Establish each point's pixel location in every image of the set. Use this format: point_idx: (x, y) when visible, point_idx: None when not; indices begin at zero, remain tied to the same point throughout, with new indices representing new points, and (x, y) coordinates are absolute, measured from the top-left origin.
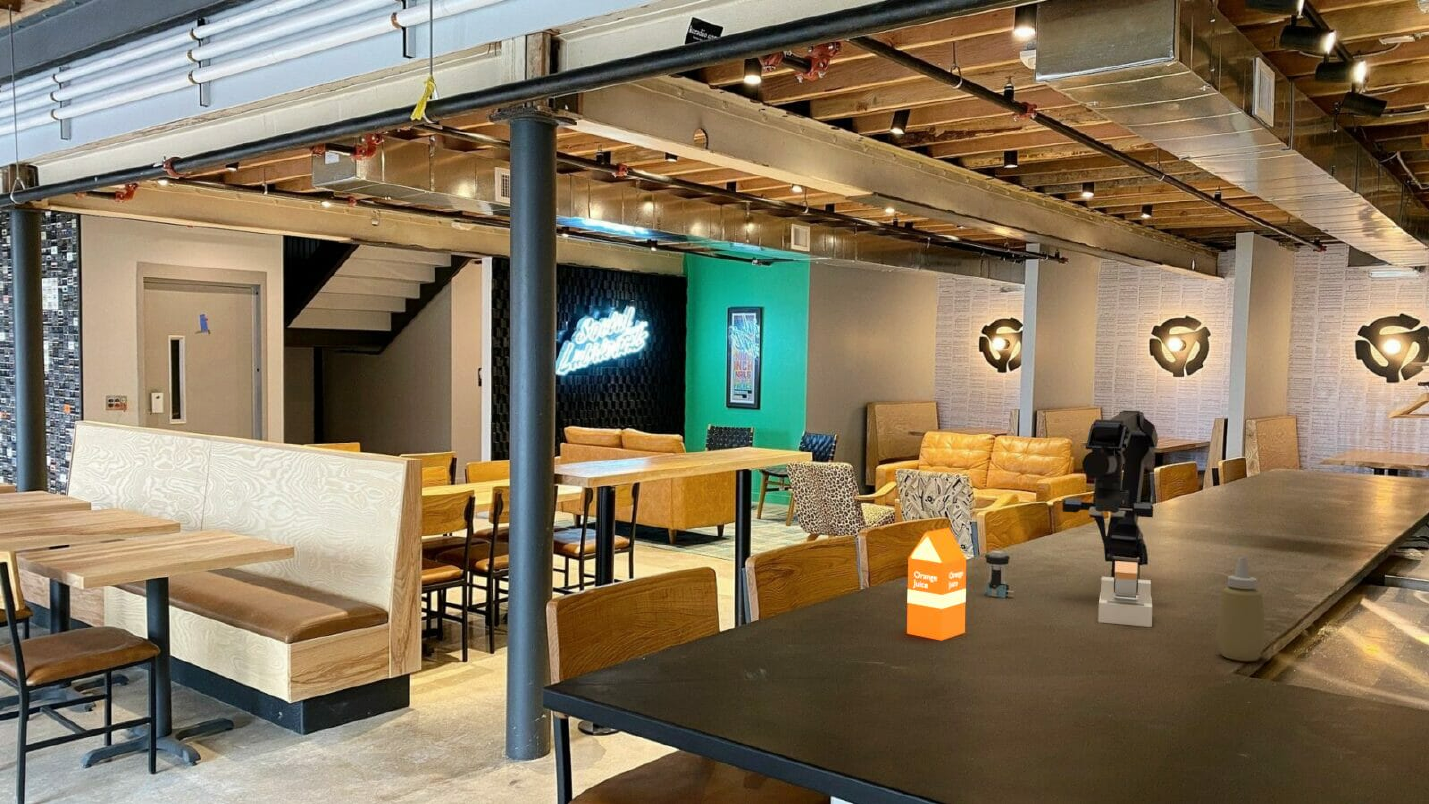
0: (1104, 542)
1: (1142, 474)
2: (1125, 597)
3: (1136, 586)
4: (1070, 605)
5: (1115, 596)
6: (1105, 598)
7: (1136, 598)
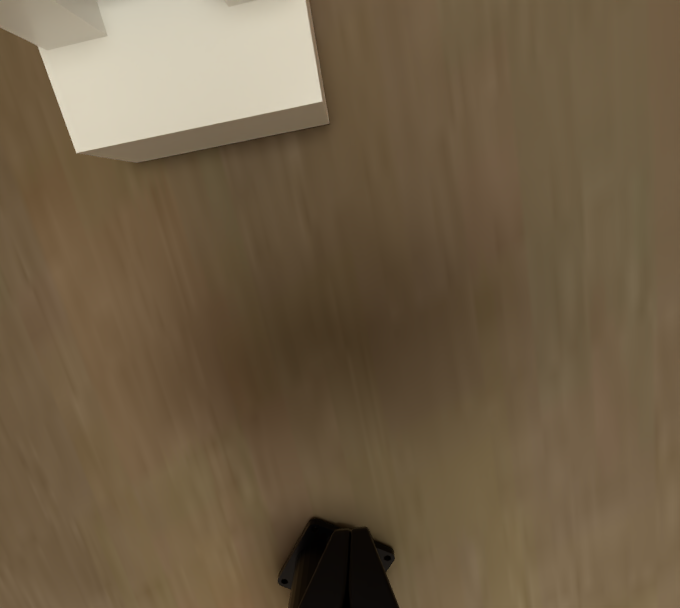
0: (364, 555)
1: None
2: (169, 27)
3: (296, 562)
4: (463, 173)
5: (221, 18)
6: None
7: (113, 36)
